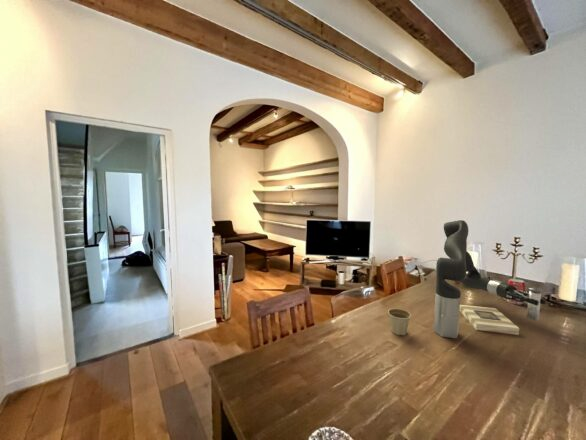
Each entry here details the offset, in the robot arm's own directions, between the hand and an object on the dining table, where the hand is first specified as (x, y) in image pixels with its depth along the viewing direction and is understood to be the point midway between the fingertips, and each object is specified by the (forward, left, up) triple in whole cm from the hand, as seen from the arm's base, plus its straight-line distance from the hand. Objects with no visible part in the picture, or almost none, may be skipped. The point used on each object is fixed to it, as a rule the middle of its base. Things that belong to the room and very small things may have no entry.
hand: (541, 302), depth 110 cm
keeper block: (+3, +19, -13) cm, 23 cm away
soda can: (+32, -7, -13) cm, 35 cm away
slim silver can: (+2, +1, -9) cm, 9 cm away
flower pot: (-18, +61, -13) cm, 65 cm away
